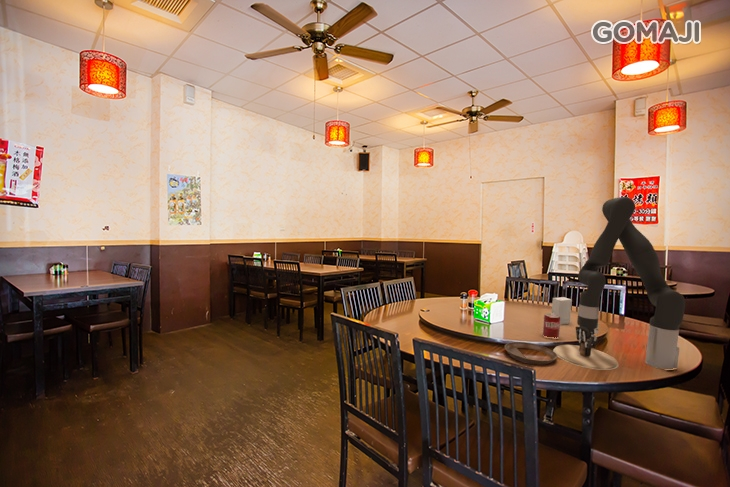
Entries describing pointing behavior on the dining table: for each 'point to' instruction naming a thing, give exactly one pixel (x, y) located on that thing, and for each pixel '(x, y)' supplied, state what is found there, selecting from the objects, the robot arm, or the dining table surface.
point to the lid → (585, 357)
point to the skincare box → (562, 309)
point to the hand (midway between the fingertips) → (584, 353)
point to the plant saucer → (516, 354)
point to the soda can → (551, 325)
